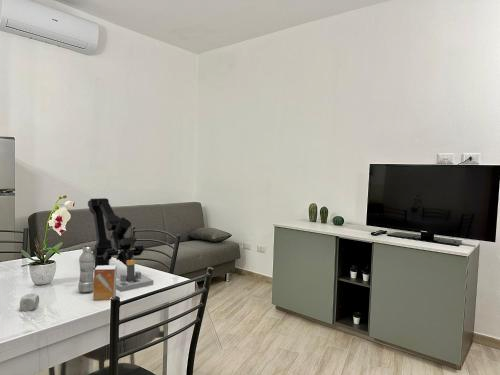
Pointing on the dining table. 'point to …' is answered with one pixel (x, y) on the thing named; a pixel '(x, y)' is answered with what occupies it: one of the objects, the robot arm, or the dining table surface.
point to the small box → (105, 282)
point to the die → (29, 302)
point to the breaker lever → (130, 271)
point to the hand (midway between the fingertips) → (129, 267)
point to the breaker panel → (140, 281)
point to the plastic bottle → (86, 270)
